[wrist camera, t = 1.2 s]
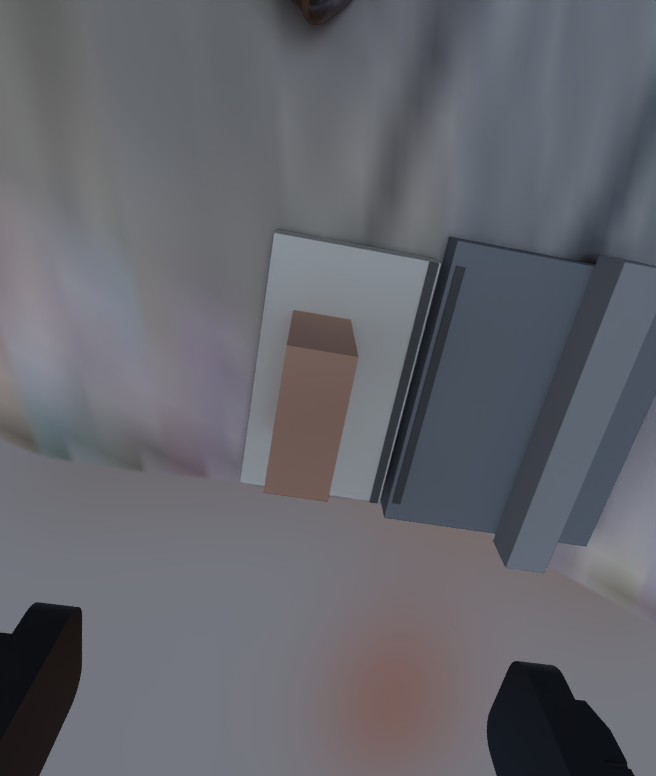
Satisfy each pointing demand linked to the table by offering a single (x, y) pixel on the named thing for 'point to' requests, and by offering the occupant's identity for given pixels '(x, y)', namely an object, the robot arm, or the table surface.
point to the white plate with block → (334, 365)
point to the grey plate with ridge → (525, 397)
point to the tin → (320, 9)
